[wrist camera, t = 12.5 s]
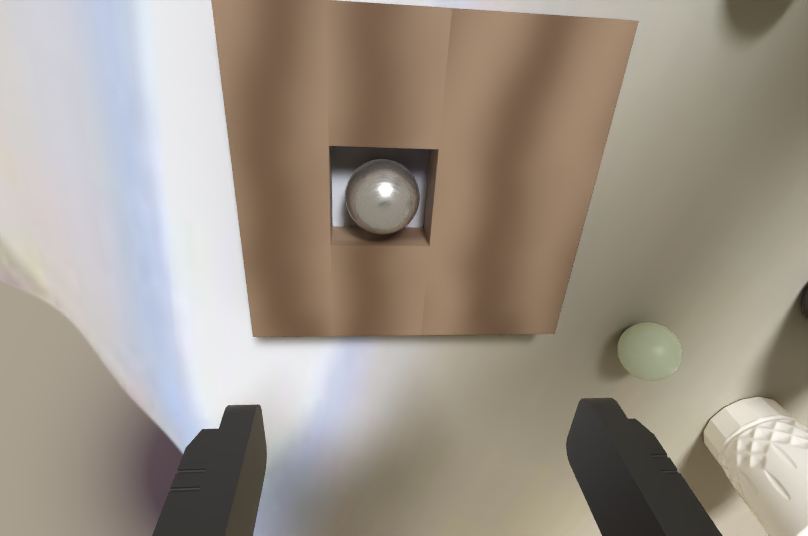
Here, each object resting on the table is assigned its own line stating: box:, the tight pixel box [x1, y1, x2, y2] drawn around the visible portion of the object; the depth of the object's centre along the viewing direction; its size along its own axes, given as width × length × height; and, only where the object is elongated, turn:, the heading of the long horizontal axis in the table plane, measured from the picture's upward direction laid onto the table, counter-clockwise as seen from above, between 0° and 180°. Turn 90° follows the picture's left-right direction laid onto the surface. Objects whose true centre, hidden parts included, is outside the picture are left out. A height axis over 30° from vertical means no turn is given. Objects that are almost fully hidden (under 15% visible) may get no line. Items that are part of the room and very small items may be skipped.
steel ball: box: [345, 159, 420, 234], centre depth 25 cm, size 4×4×4 cm
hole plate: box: [211, 0, 639, 337], centre depth 26 cm, size 19×18×2 cm
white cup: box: [704, 397, 808, 536], centre depth 37 cm, size 8×8×10 cm
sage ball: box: [617, 322, 682, 381], centre depth 33 cm, size 4×4×4 cm
